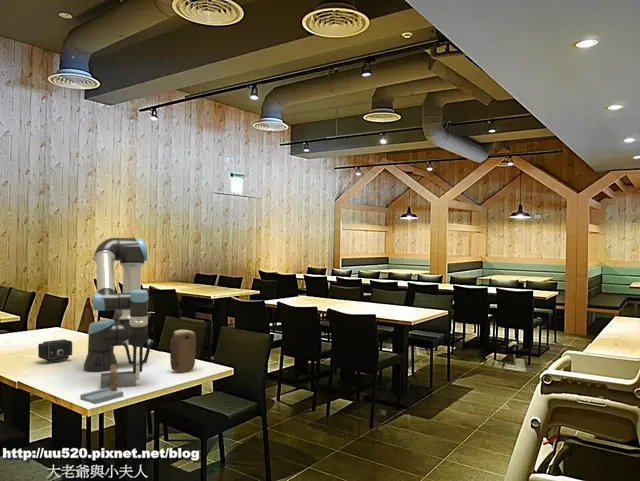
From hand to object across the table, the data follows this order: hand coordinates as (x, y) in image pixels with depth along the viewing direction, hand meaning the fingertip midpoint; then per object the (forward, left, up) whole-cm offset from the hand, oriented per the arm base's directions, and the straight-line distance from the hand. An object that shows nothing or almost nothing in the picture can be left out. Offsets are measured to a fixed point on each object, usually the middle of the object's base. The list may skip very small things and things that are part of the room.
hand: (137, 379), depth 220 cm
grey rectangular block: (+6, -4, +1) cm, 8 cm away
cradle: (+20, +5, -2) cm, 21 cm away
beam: (+8, -5, -2) cm, 10 cm away
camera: (-3, -69, -2) cm, 70 cm away
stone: (-28, -2, -2) cm, 28 cm away
